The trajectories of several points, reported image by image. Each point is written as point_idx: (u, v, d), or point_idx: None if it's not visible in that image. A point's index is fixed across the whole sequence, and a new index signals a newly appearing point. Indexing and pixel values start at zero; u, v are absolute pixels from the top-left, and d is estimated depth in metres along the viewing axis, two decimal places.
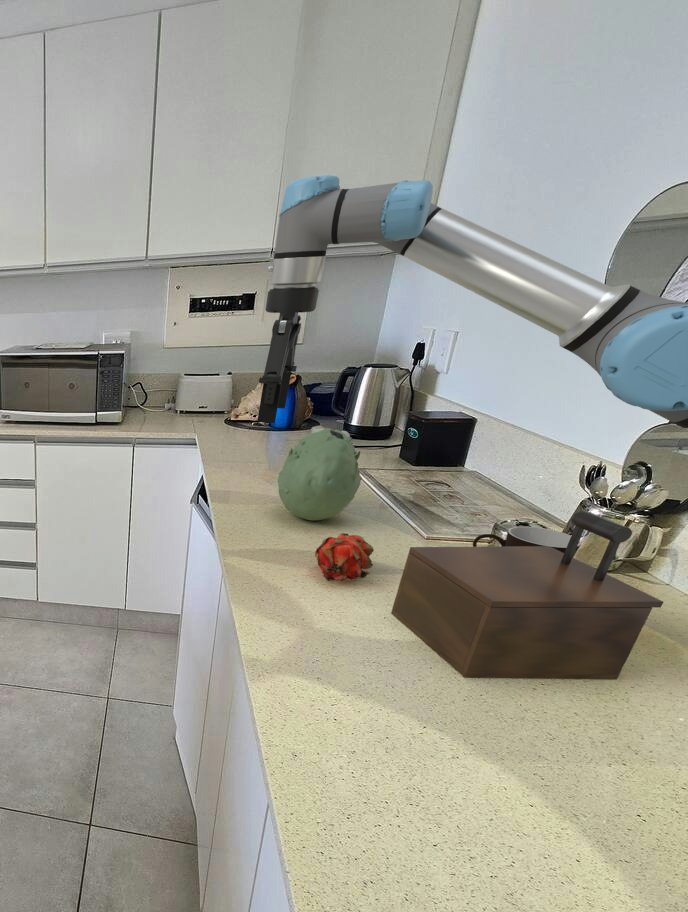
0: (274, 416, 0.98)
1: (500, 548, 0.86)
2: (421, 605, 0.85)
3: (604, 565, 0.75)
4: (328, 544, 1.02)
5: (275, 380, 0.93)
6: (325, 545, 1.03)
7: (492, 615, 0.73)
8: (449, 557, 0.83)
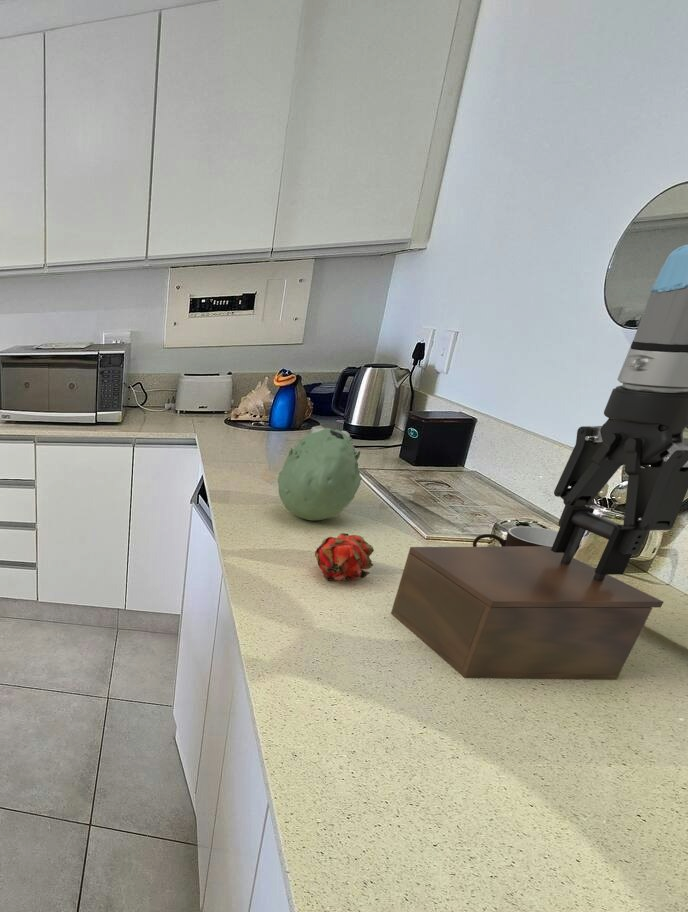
0: (625, 567, 0.74)
1: (500, 548, 0.86)
2: (421, 605, 0.85)
3: None
4: (328, 544, 1.02)
5: (664, 529, 0.69)
6: (325, 545, 1.03)
7: (492, 615, 0.73)
8: (449, 557, 0.83)
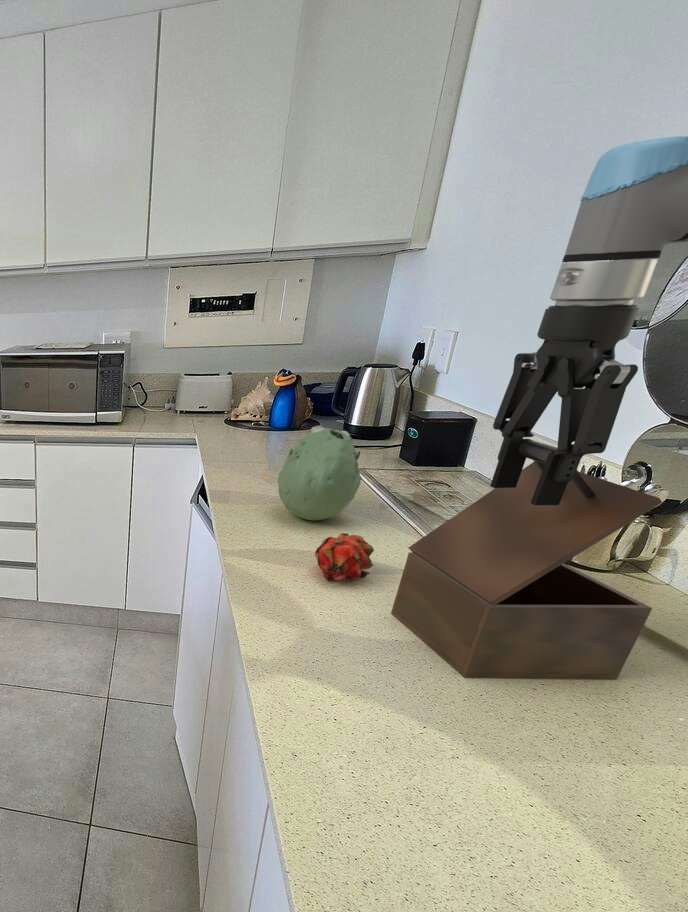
0: (561, 496, 0.71)
1: (490, 494, 0.82)
2: (421, 605, 0.85)
3: (581, 485, 0.71)
4: (328, 544, 1.02)
5: (597, 452, 0.66)
6: (325, 545, 1.03)
7: (492, 615, 0.73)
8: (444, 544, 0.83)
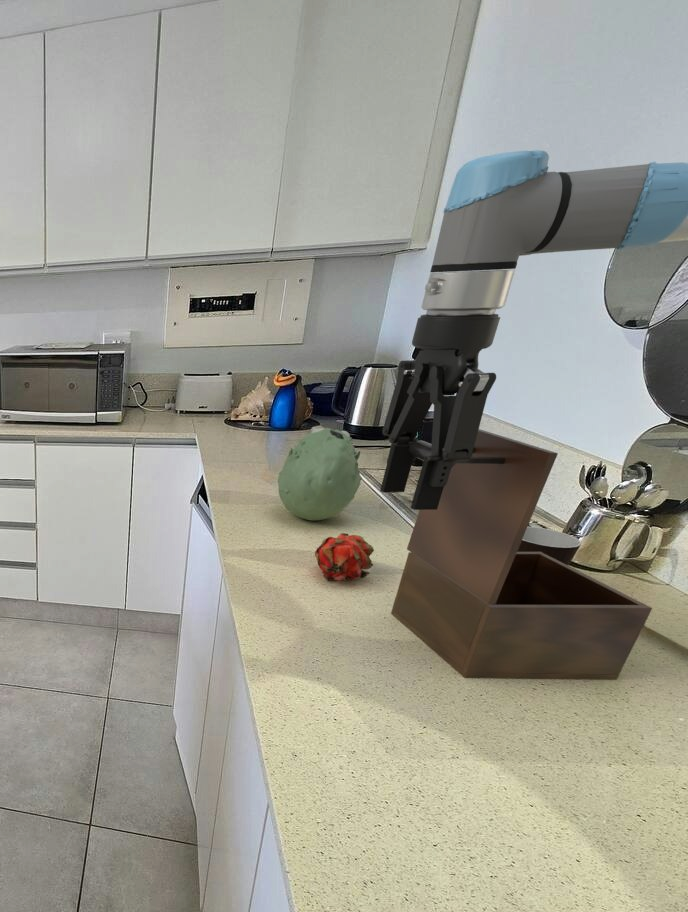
0: (438, 501, 0.72)
1: None
2: (421, 605, 0.85)
3: (483, 462, 0.71)
4: (328, 544, 1.02)
5: (464, 458, 0.67)
6: (325, 545, 1.03)
7: (492, 615, 0.73)
8: (429, 540, 0.83)
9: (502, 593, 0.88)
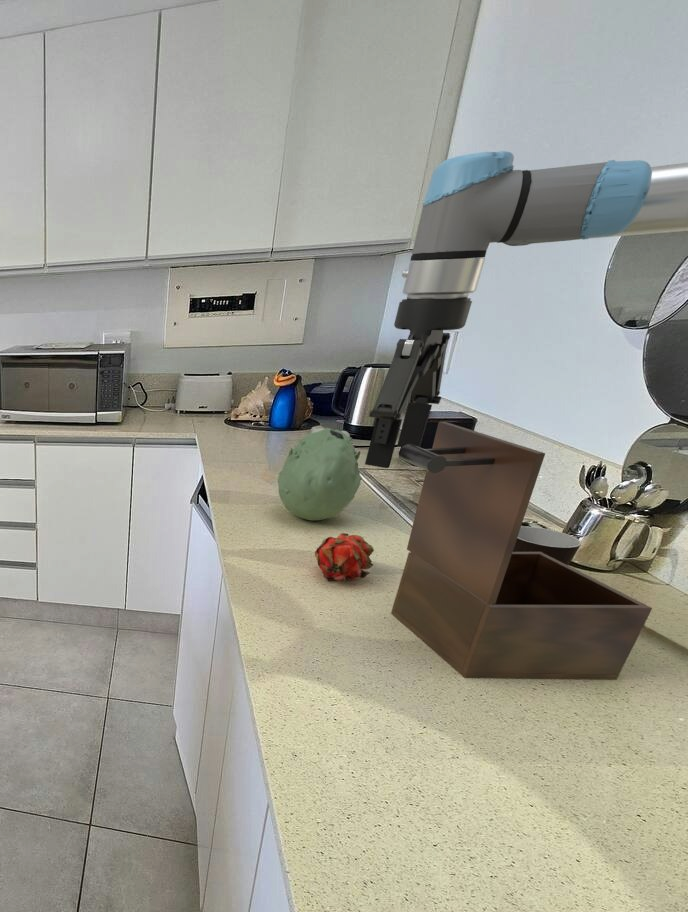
0: (388, 460, 0.77)
1: (428, 473, 0.82)
2: (421, 605, 0.85)
3: (473, 464, 0.71)
4: (328, 544, 1.02)
5: (389, 415, 0.74)
6: (325, 545, 1.03)
7: (492, 615, 0.73)
8: (427, 540, 0.83)
9: (502, 593, 0.88)
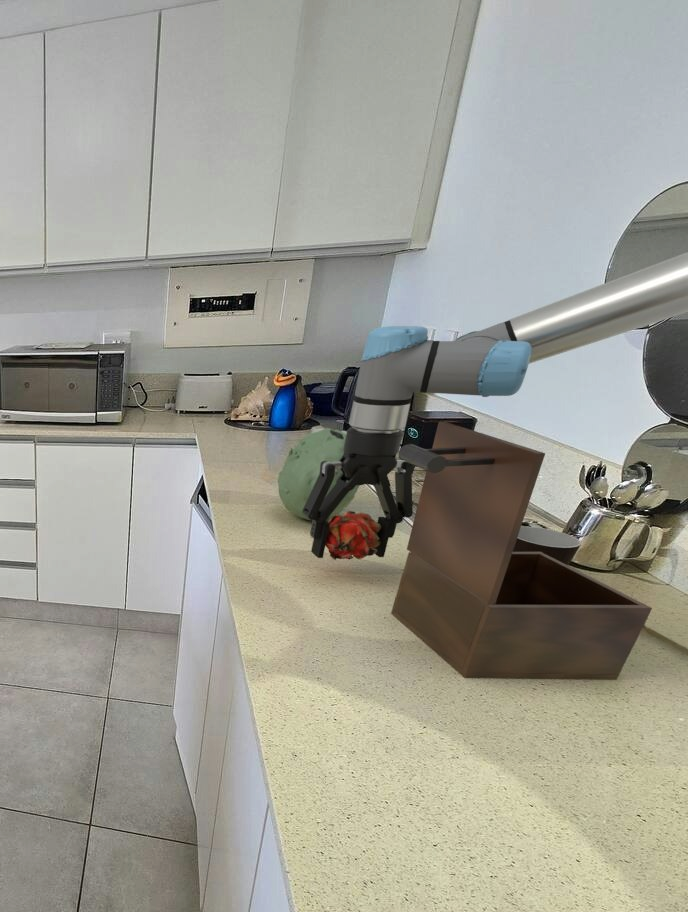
0: (319, 552, 1.01)
1: (428, 473, 0.82)
2: (421, 605, 0.85)
3: (473, 464, 0.71)
4: (334, 522, 1.00)
5: (307, 517, 0.99)
6: (331, 524, 1.01)
7: (492, 615, 0.73)
8: (427, 540, 0.83)
9: (502, 593, 0.88)
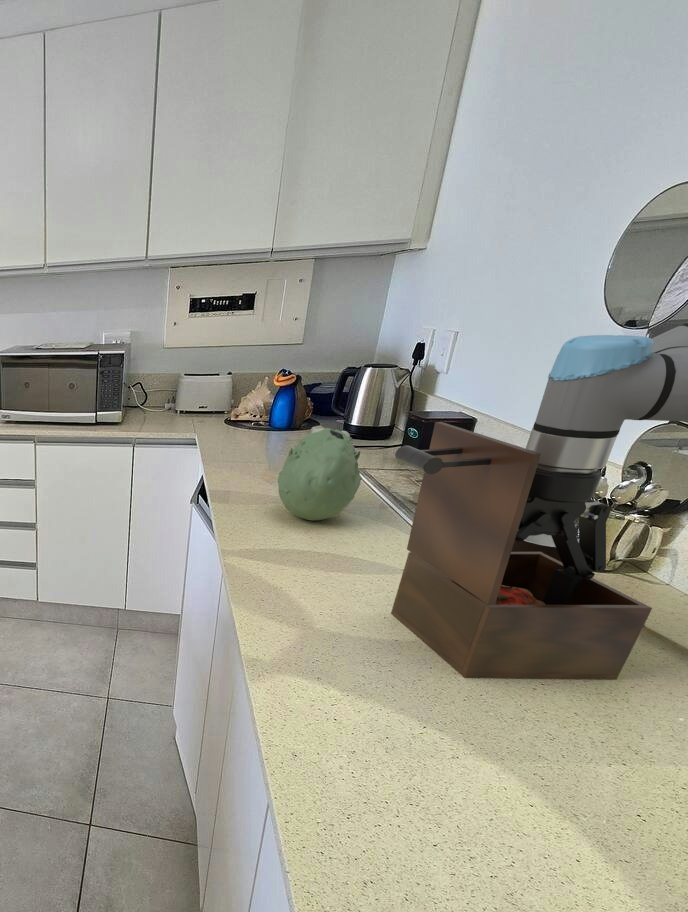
0: None
1: (426, 473, 0.82)
2: (421, 605, 0.85)
3: (470, 465, 0.71)
4: None
5: None
6: None
7: (492, 615, 0.73)
8: (427, 540, 0.83)
9: None
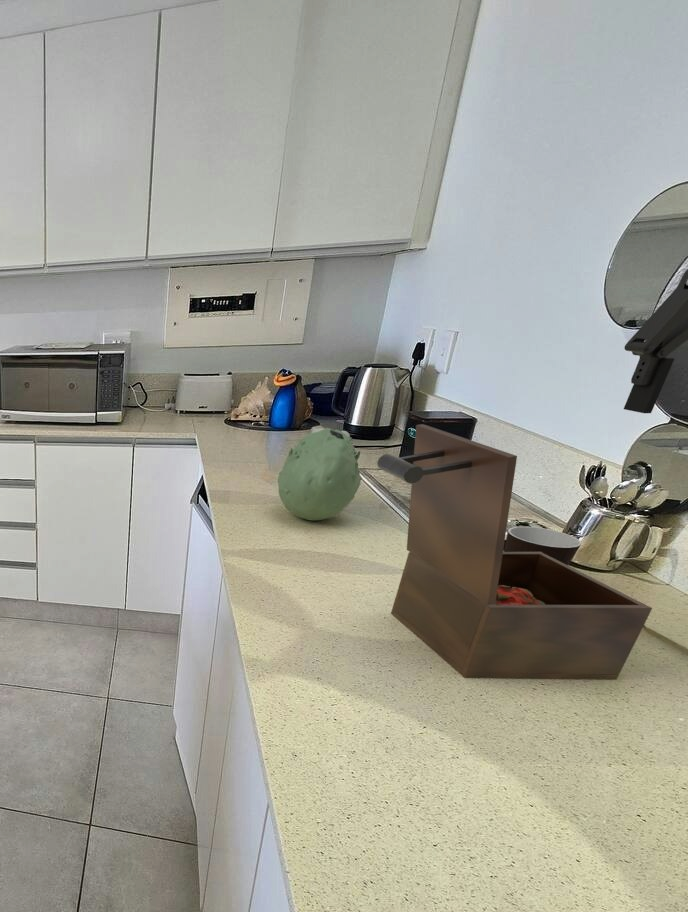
0: (647, 404, 0.71)
1: None
2: (421, 605, 0.85)
3: (451, 469, 0.71)
4: None
5: (640, 350, 0.69)
6: None
7: (492, 615, 0.73)
8: (424, 541, 0.83)
9: None
